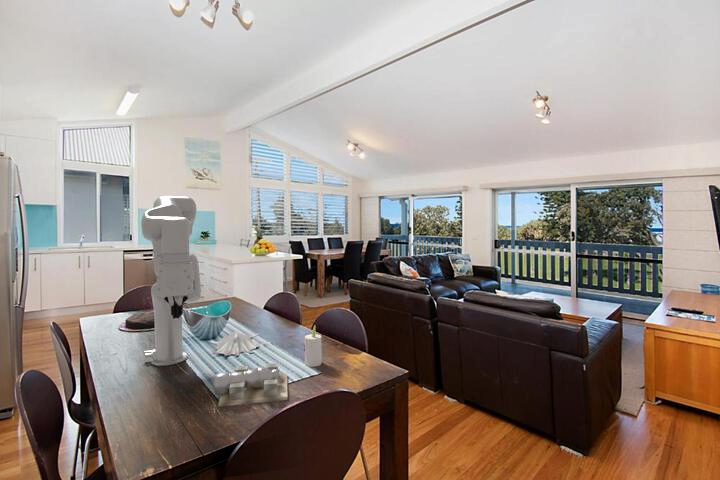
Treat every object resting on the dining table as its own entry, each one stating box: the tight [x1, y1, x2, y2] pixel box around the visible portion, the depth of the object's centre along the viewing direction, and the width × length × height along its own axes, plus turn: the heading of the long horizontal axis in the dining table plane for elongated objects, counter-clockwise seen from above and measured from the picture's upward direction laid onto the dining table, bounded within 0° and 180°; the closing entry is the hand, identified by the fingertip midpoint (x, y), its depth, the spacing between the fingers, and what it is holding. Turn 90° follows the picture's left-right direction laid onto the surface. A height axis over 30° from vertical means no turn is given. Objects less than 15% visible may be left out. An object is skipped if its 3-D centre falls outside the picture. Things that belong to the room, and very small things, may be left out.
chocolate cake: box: [118, 309, 155, 333], centre depth 192 cm, size 28×28×7 cm
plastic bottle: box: [212, 366, 280, 396], centre depth 116 cm, size 6×7×20 cm
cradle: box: [217, 363, 289, 408], centre depth 118 cm, size 20×18×5 cm
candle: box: [303, 324, 322, 368], centre depth 139 cm, size 6×6×15 cm
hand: (177, 317), depth 112 cm, fingers closed
